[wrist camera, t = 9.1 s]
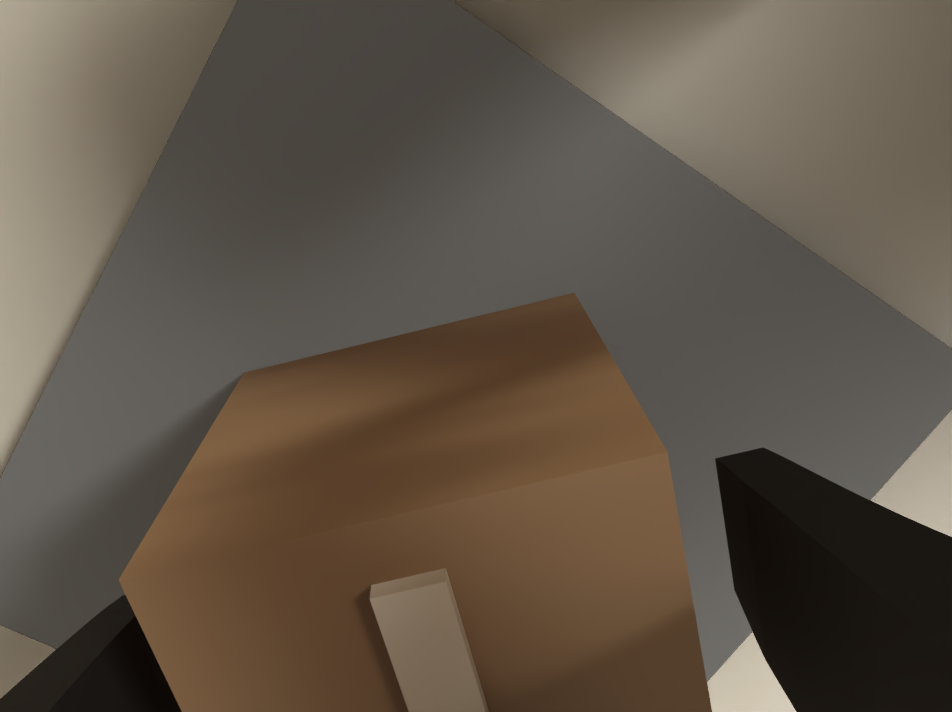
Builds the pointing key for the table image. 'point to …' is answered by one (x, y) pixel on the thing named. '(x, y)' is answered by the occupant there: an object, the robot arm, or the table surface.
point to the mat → (438, 287)
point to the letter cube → (427, 534)
